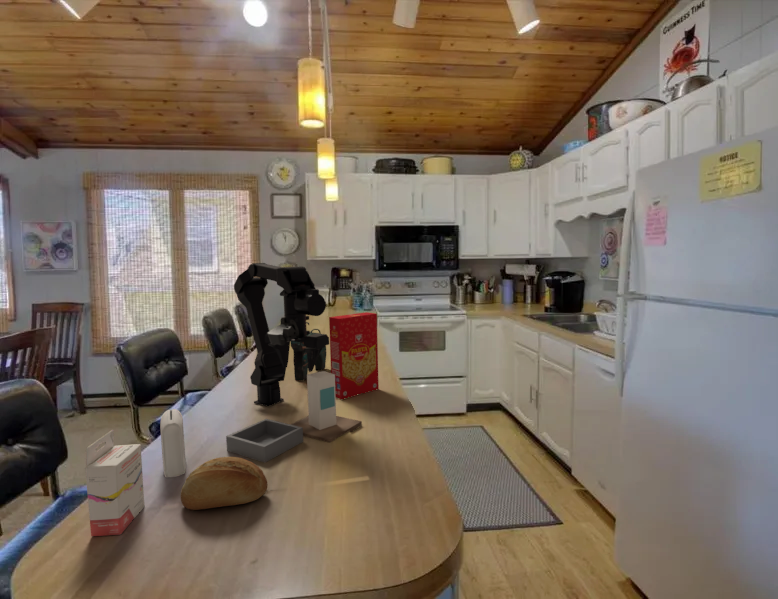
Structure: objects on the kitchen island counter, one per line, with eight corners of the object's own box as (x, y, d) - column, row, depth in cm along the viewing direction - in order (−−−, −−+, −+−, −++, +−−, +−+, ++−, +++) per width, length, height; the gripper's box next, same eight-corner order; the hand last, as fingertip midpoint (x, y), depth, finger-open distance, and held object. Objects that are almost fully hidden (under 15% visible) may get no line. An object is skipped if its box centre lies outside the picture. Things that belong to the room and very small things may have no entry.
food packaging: (341, 399, 136) (338, 318, 133) (331, 395, 140) (329, 317, 137) (378, 389, 146) (376, 313, 143) (368, 386, 150) (366, 312, 147)
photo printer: (164, 461, 97) (159, 406, 96) (185, 456, 99) (181, 403, 98) (163, 482, 88) (158, 422, 87) (187, 477, 90) (182, 418, 89)
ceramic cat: (303, 382, 155) (301, 325, 153) (287, 381, 158) (284, 325, 156) (330, 368, 174) (328, 317, 172) (315, 367, 176) (313, 317, 174)
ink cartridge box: (122, 535, 72) (114, 447, 70) (90, 537, 71) (81, 449, 70) (146, 505, 80) (140, 426, 78) (117, 507, 80) (110, 428, 78)
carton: (309, 424, 113) (306, 374, 112) (325, 419, 117) (323, 370, 115) (320, 430, 110) (318, 378, 108) (337, 424, 113) (335, 374, 112)
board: (282, 432, 112) (282, 427, 112) (316, 415, 123) (316, 411, 123) (330, 444, 104) (329, 439, 104) (361, 425, 115) (361, 421, 115)
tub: (227, 453, 101) (226, 436, 100) (266, 434, 111) (266, 418, 110) (264, 465, 94) (264, 447, 94) (303, 443, 105) (302, 427, 104)
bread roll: (266, 512, 77) (263, 468, 76) (173, 524, 74) (170, 478, 74) (269, 484, 87) (267, 445, 86) (187, 494, 84) (184, 453, 83)
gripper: (247, 315, 118) (250, 372, 120) (300, 319, 109) (303, 381, 110) (278, 310, 128) (280, 363, 129) (329, 313, 118) (331, 370, 120)
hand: (297, 369), depth 122 cm, fingers open, 9 cm apart
